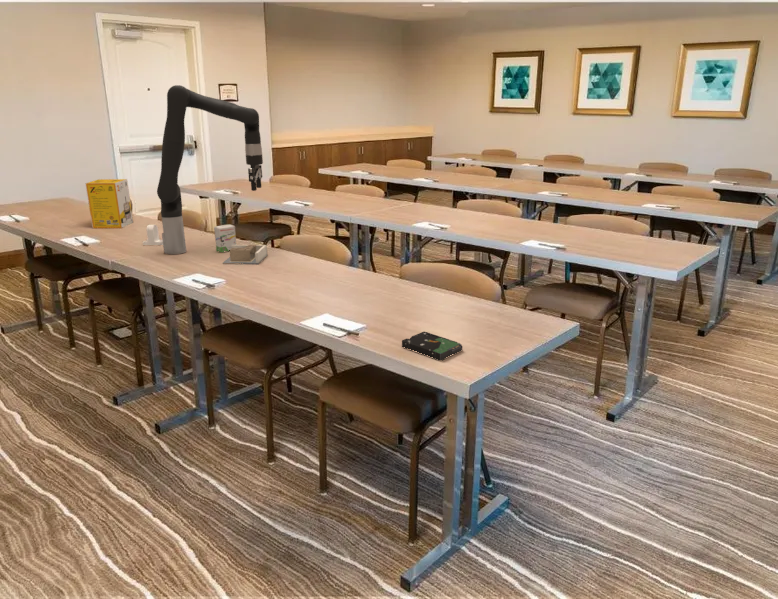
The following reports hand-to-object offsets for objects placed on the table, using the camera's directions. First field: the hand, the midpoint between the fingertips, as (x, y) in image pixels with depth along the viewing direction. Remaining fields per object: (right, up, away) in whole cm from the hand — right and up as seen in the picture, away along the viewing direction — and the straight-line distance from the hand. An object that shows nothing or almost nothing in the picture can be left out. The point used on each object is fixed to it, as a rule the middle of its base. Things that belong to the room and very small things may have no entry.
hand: (256, 189), depth 291 cm
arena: (-2, -34, -12) cm, 36 cm away
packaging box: (-95, -10, +63) cm, 114 cm away
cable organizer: (-54, -25, +18) cm, 62 cm away
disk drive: (+74, -67, -110) cm, 149 cm away
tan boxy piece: (-3, -33, -13) cm, 36 cm away
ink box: (-15, -29, +4) cm, 33 cm away
